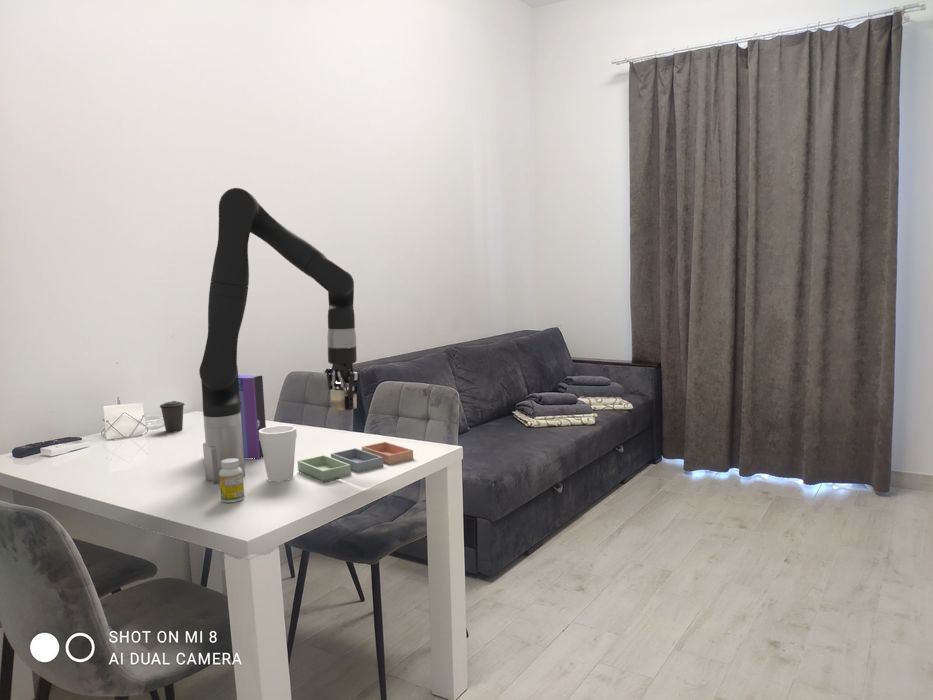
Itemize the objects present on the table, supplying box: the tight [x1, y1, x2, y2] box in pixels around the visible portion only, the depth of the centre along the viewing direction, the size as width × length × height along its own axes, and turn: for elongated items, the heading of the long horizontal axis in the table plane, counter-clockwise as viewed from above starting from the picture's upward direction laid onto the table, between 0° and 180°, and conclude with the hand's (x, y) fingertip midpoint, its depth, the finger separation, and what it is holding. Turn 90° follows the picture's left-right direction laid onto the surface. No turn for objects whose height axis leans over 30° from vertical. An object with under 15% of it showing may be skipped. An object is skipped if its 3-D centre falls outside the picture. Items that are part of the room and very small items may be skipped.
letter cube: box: [329, 387, 358, 412], centre depth 188 cm, size 5×5×5 cm
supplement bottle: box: [219, 458, 245, 504], centre depth 166 cm, size 5×5×10 cm
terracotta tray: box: [361, 441, 414, 465], centre depth 198 cm, size 8×14×3 cm, turn 40°
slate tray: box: [330, 448, 384, 473], centre depth 192 cm, size 8×14×3 cm, turn 40°
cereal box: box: [238, 374, 267, 460], centre depth 206 cm, size 17×5×24 cm, turn 73°
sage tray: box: [297, 454, 352, 483], centre depth 186 cm, size 8×14×3 cm, turn 40°
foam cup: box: [259, 424, 298, 482], centre depth 182 cm, size 10×9×13 cm
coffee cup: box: [159, 400, 186, 433], centre depth 244 cm, size 8×8×10 cm
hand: (343, 407), depth 189 cm, fingers closed on letter cube, 5 cm apart
